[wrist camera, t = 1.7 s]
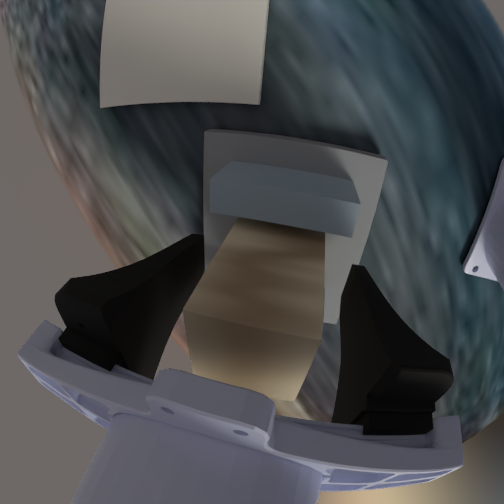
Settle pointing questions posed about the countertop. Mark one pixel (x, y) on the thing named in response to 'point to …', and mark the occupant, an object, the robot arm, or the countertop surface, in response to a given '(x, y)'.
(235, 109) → the countertop surface
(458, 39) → the countertop surface
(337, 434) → the robot arm
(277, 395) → the peg
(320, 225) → the vise
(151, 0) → the mat
